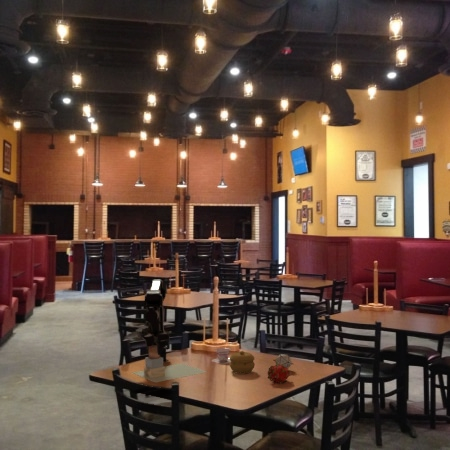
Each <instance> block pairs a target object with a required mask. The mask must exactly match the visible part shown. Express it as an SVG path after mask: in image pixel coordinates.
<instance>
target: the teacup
mask: <svg viewBox="0 0 450 450" xmlns="http://www.w3.org/2000/svg"><path fill="white" fill-rule="evenodd" d="M231 350H232V349H231V348H229V347H219V348H216V349H215V352H216V357H217V358H214V359H213V358H212V359H211V362H213V363H217V364H220V365H228V364H229V365H230V363H231V361H230V357H229V354H230V352H231Z"/></svg>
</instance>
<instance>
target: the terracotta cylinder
mask: <svg viewBox="0 0 450 450" xmlns="http://www.w3.org/2000/svg"><path fill="white" fill-rule="evenodd" d="M148 357H149V359H158V358H160V355H158V352H157V346H149V352H148Z"/></svg>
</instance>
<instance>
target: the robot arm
mask: <svg viewBox="0 0 450 450" xmlns="http://www.w3.org/2000/svg"><path fill="white" fill-rule="evenodd" d="M167 285H168V284H167V283H166V282H164V281H163V280H162V279H152V280H151V283H150V284H149V290H148V291H147V292H146V294H144V304H143V305H144V307H143V308H144V309H147V311H146V312H145V314H144V319H145V322H144V323H145V324H144V325H143V326H141V327H138V328H137V329H135V333H136V336H137V338H142V340H144V343H145V345H146V348H147V352H148V353H149V346H157V352H158V355H160V357H162V358H163V363H165V362H169V361H170V359H167V351H168V350H170V349H171V344H170V338H171V337H170V334H169V333H167V332H166V330H165V329H164V323H165V322H164V300H165V299H166V297H167V294H168V286H167Z"/></svg>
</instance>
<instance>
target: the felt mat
mask: <svg viewBox="0 0 450 450" xmlns="http://www.w3.org/2000/svg"><path fill="white" fill-rule="evenodd" d="M164 367H165V375H164V376H159V377H154V378H150V377H148V376H145V375H144V369H143V370H140V371H139V370H138V371H134V372H131V374H132V375H136V376H139V377H141V378H143V379H145V380H147V381H151V382H152V383H160V382H164V381H171V380H174V379H180V378H185V377H189V376H194V375H195V376H196V375H199V374H204V373H207V371H206V370H203V369H200V368H198V367H194V366H191V365H189V364H186V363H181V362H180V363H175V364H172V365H171V364H170V365H164Z"/></svg>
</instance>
